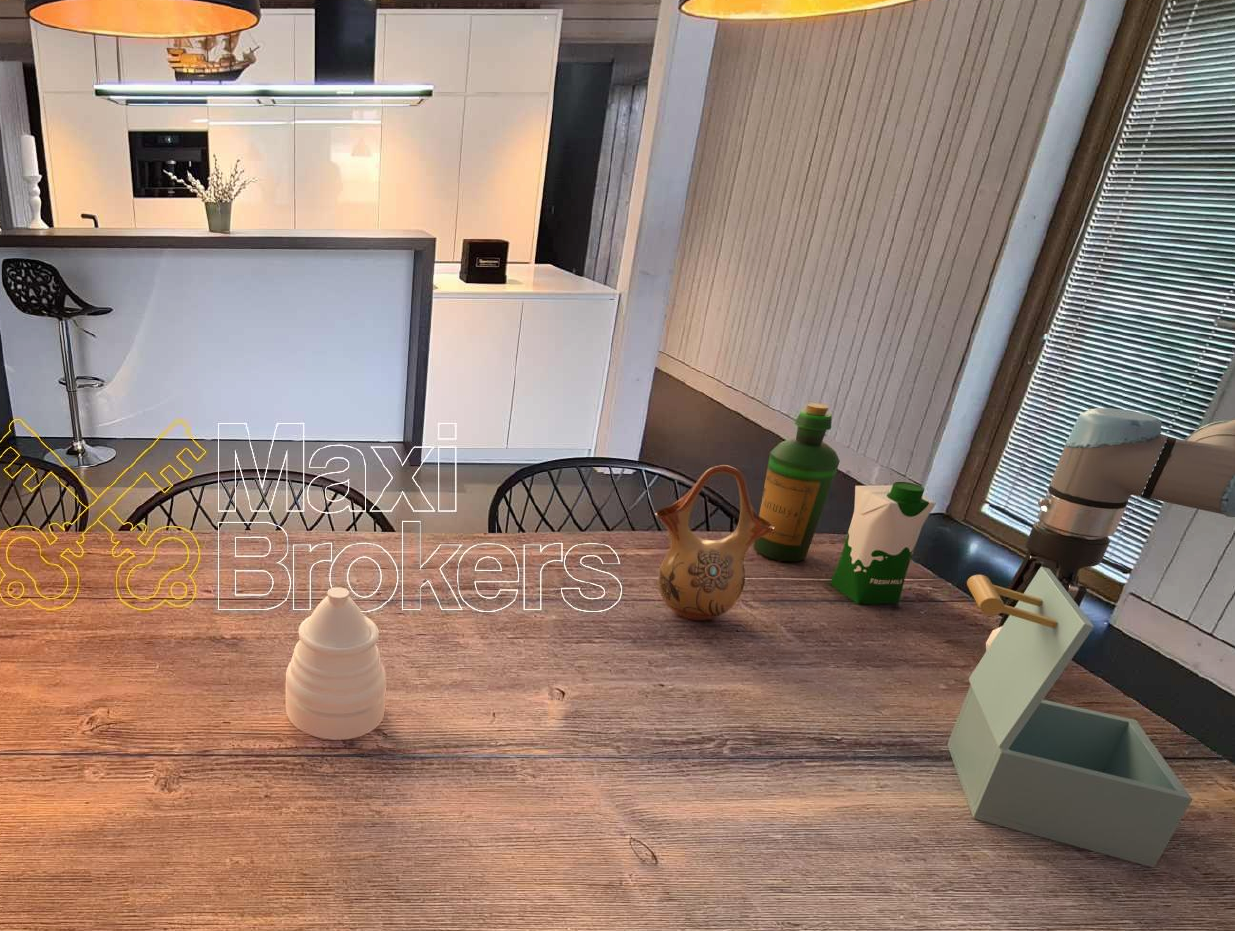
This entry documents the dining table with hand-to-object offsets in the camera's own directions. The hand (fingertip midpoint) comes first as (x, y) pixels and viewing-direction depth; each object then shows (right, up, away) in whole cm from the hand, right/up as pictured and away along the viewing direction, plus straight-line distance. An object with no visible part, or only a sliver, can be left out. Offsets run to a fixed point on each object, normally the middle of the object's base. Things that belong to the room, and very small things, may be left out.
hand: (1012, 672), depth 113 cm
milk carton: (-6, +9, +22) cm, 24 cm away
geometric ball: (0, 0, 0) cm, 0 cm away
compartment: (-17, -10, -23) cm, 30 cm away
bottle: (-12, +15, +36) cm, 40 cm away
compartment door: (-22, +7, -27) cm, 36 cm away
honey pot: (-95, -3, -8) cm, 96 cm away
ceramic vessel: (-38, +6, +15) cm, 41 cm away
